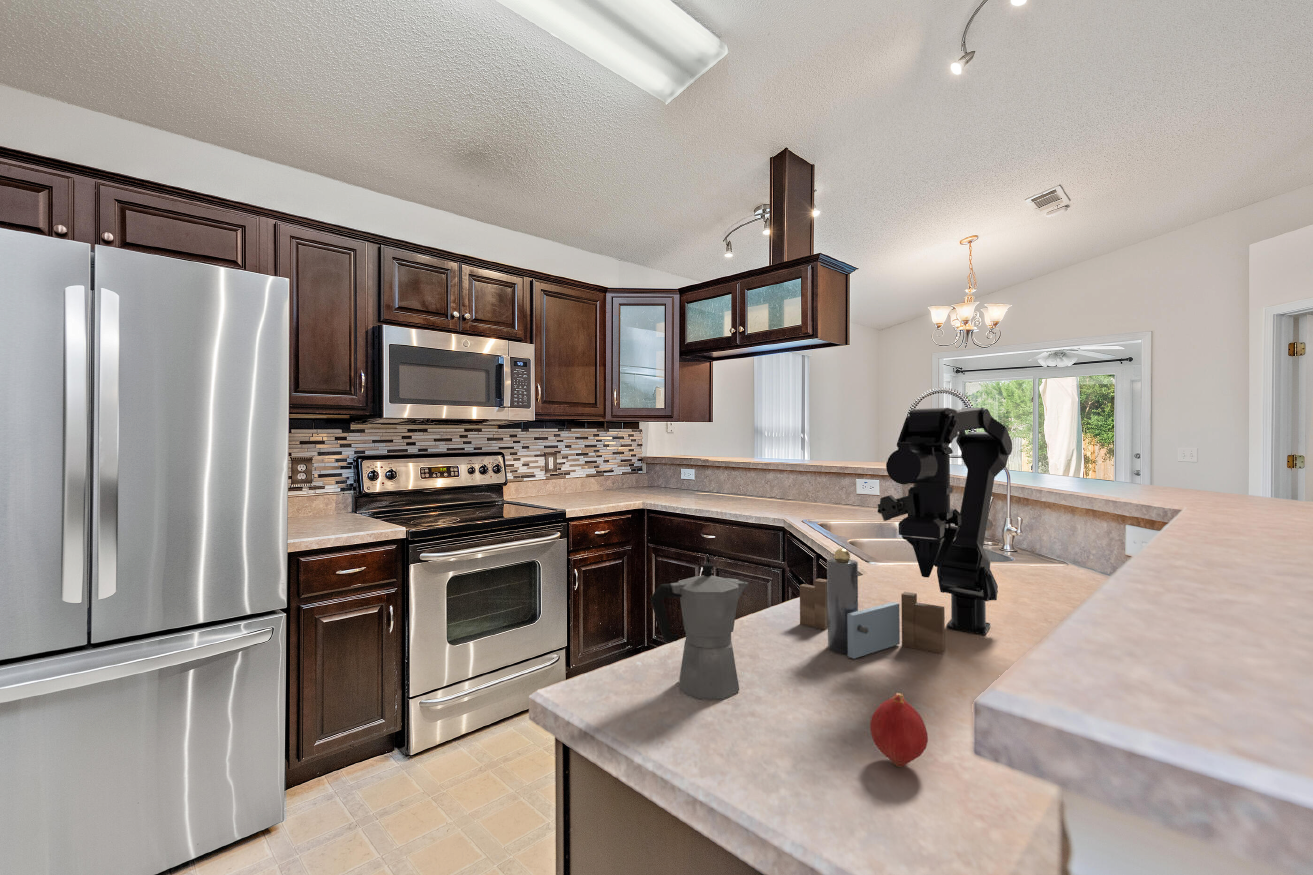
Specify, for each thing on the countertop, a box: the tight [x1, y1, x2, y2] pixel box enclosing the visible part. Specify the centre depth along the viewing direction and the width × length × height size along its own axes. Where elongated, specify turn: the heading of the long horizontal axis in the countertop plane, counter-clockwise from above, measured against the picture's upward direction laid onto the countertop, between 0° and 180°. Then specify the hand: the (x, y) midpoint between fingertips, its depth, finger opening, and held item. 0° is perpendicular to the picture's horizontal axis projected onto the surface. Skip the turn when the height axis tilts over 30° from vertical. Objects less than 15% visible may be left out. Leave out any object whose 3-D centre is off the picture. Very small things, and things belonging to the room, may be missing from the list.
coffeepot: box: [650, 562, 750, 701], centre depth 82 cm, size 15×9×18 cm, turn 110°
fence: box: [799, 578, 946, 655], centre depth 102 cm, size 2×25×9 cm, turn 52°
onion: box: [869, 692, 929, 768], centre depth 62 cm, size 6×6×8 cm
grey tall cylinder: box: [826, 548, 859, 656], centre depth 96 cm, size 5×5×17 cm
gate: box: [847, 601, 901, 660], centre depth 94 cm, size 12×3×7 cm, turn 122°
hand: (931, 571), depth 97 cm, fingers open, 9 cm apart
